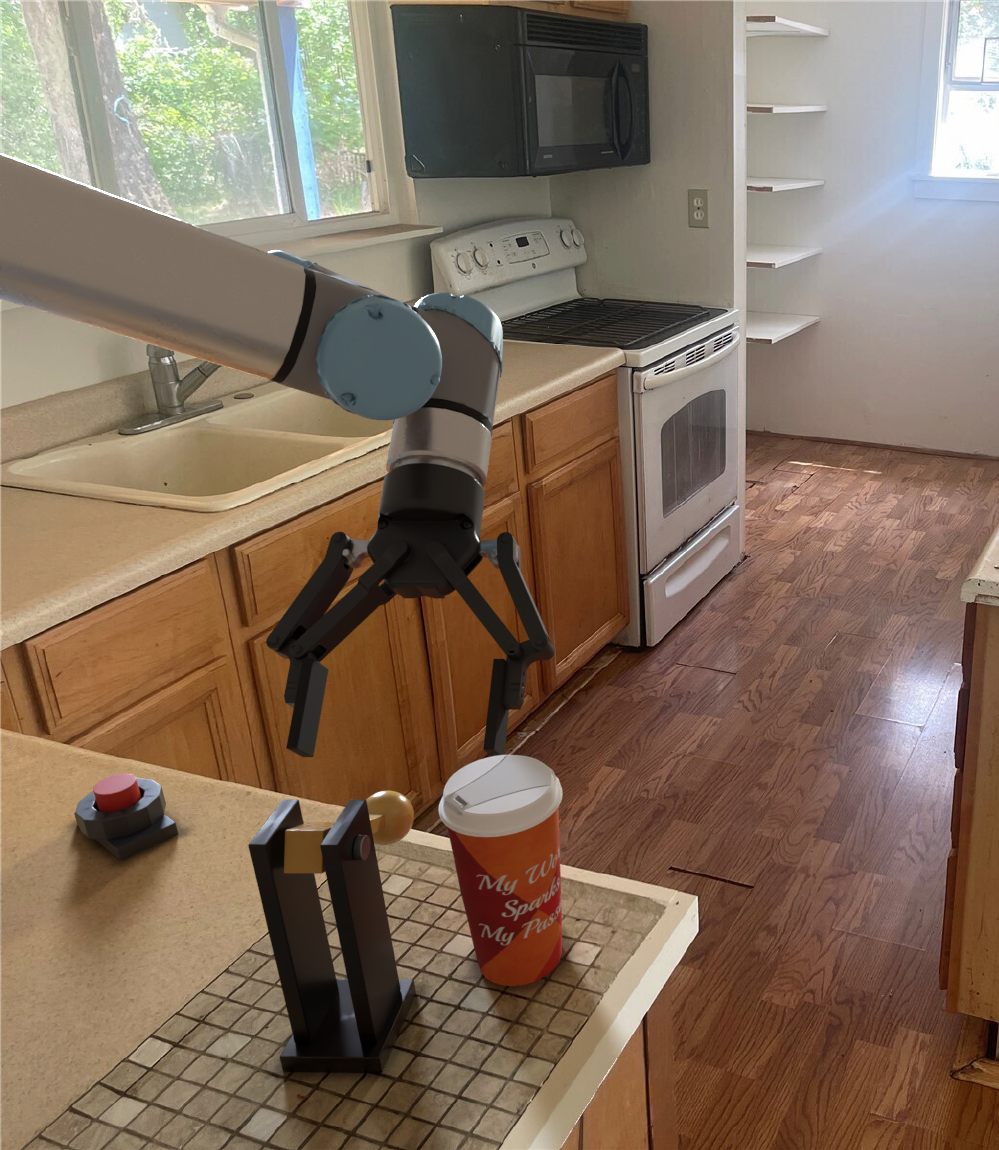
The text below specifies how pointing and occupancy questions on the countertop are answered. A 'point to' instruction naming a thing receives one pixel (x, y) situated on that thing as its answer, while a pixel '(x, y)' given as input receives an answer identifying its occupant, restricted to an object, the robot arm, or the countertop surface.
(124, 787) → the set button
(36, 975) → the countertop surface
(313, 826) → the lever
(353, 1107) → the countertop surface
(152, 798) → the button base
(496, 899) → the paper cup
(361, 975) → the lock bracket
